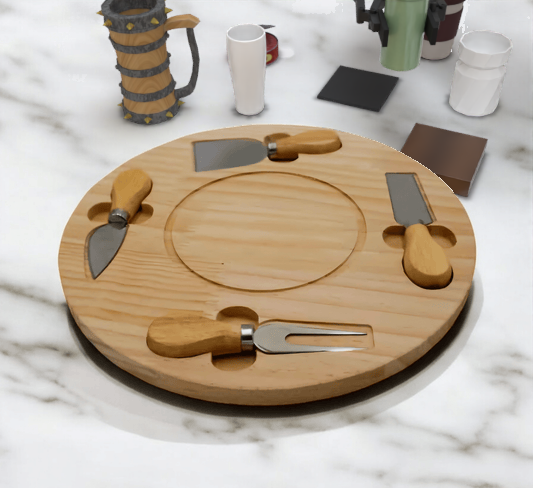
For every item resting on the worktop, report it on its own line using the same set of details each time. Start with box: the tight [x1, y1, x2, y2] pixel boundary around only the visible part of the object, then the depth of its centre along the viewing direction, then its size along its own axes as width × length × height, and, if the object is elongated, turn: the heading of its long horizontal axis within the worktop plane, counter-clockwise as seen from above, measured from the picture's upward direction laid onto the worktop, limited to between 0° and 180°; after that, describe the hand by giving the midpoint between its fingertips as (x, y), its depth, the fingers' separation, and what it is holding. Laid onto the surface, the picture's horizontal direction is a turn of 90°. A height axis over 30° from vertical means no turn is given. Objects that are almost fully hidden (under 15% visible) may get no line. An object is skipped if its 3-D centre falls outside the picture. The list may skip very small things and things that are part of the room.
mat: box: [316, 64, 400, 113], centre depth 123 cm, size 12×12×1 cm
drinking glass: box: [225, 22, 267, 116], centre depth 115 cm, size 7×7×15 cm
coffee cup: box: [421, 0, 467, 61], centre depth 127 cm, size 10×10×15 cm
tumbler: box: [378, 0, 429, 72], centre depth 99 cm, size 7×7×12 cm
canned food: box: [258, 24, 280, 67], centre depth 132 cm, size 11×10×10 cm
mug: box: [96, 0, 201, 125], centre depth 114 cm, size 13×17×20 cm
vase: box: [448, 29, 514, 117], centre depth 114 cm, size 9×9×12 cm
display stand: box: [399, 122, 489, 198], centre depth 105 cm, size 12×12×3 cm
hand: (410, 37), depth 95 cm, fingers closed on tumbler, 6 cm apart
